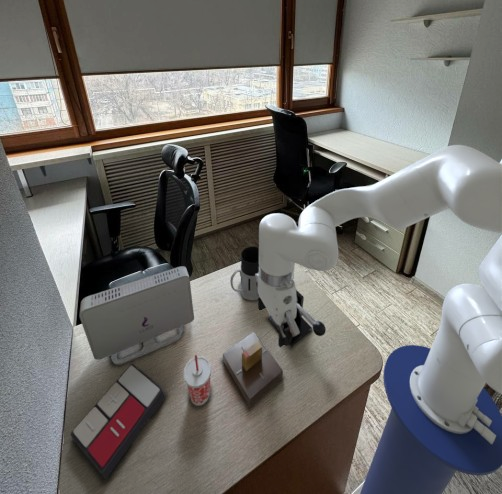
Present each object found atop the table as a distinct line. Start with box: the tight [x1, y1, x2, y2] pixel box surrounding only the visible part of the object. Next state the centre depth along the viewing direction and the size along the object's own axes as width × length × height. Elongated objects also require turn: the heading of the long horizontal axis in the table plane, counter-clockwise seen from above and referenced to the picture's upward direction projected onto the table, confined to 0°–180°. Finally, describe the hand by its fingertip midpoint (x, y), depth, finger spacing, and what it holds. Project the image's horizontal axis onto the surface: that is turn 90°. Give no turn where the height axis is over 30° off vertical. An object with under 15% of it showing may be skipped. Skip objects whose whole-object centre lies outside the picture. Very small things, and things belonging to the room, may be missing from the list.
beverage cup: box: [183, 354, 212, 406], centre depth 61 cm, size 6×6×14 cm
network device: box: [79, 265, 195, 366], centre depth 72 cm, size 26×9×20 cm, turn 116°
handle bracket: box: [267, 289, 313, 348], centre depth 77 cm, size 10×8×12 cm
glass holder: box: [230, 246, 259, 301], centre depth 86 cm, size 9×14×15 cm, turn 139°
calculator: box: [70, 363, 166, 479], centre depth 58 cm, size 11×4×15 cm
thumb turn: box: [242, 341, 262, 371], centre depth 66 cm, size 5×2×5 cm, turn 127°
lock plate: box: [222, 331, 284, 407], centre depth 68 cm, size 12×10×3 cm
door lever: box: [297, 299, 326, 337], centre depth 72 cm, size 13×3×3 cm, turn 36°
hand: (273, 324), depth 63 cm, fingers open, 9 cm apart
